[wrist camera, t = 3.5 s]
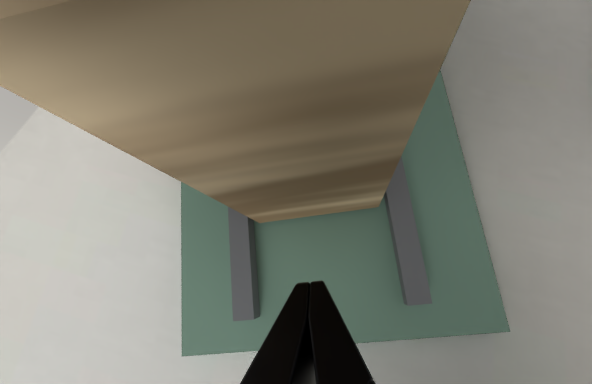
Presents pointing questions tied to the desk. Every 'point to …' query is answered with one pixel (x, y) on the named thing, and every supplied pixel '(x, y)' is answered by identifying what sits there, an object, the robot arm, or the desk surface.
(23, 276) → the desk surface
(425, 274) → the board
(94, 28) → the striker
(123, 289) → the desk surface
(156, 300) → the desk surface
